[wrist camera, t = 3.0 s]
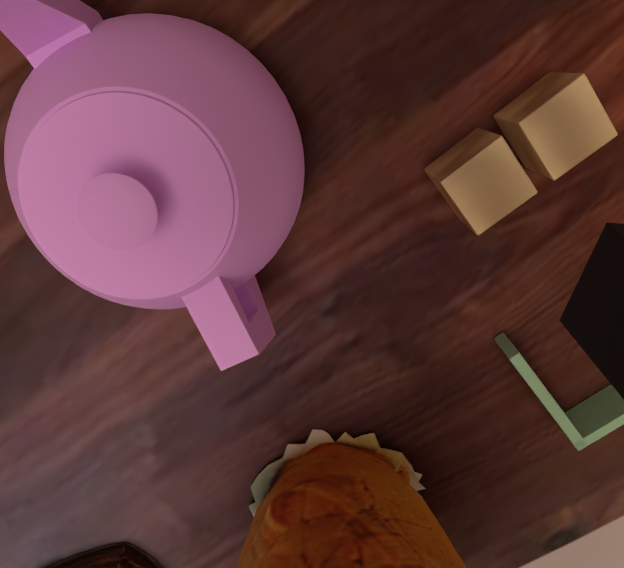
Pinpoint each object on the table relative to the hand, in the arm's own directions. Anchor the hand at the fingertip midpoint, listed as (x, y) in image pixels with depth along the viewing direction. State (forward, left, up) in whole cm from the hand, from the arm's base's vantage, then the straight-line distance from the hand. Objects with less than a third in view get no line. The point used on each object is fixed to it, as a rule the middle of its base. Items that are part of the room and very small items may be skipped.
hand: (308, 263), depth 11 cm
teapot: (+7, -3, -23) cm, 24 cm away
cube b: (-7, +9, -23) cm, 25 cm away
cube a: (-12, +9, -23) cm, 27 cm away
